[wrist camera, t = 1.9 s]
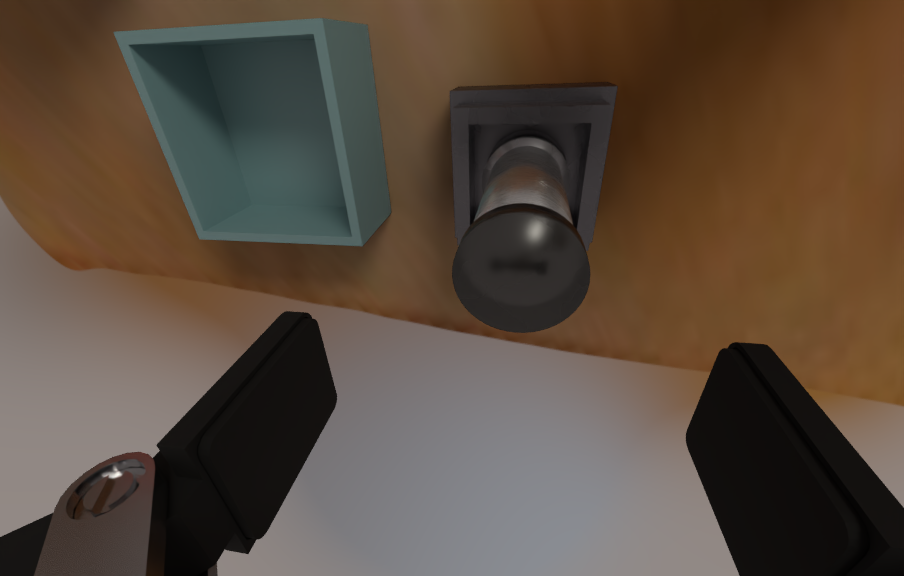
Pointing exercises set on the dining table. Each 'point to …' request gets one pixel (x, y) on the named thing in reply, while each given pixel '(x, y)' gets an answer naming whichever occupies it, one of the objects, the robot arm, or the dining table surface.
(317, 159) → the bin
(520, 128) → the square recessed block
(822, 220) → the dining table surface
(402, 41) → the dining table surface
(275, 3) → the dining table surface
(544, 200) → the pepper mill
